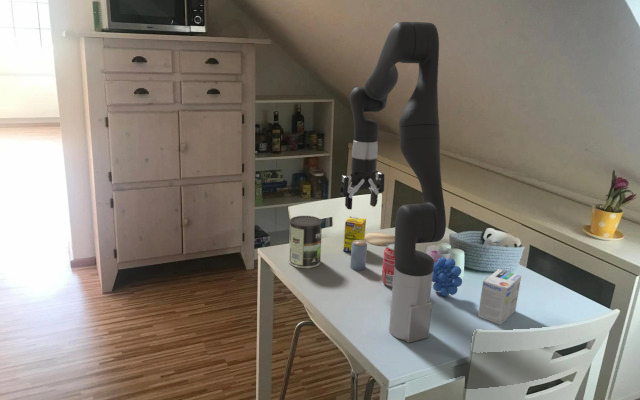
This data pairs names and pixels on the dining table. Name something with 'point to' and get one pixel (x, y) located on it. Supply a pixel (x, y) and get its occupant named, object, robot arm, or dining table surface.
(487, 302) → the light bulb box
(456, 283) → the grapes
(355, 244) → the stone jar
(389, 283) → the soda can
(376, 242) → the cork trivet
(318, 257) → the coffee can
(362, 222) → the supplement box
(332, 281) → the dining table surface
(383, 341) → the dining table surface
